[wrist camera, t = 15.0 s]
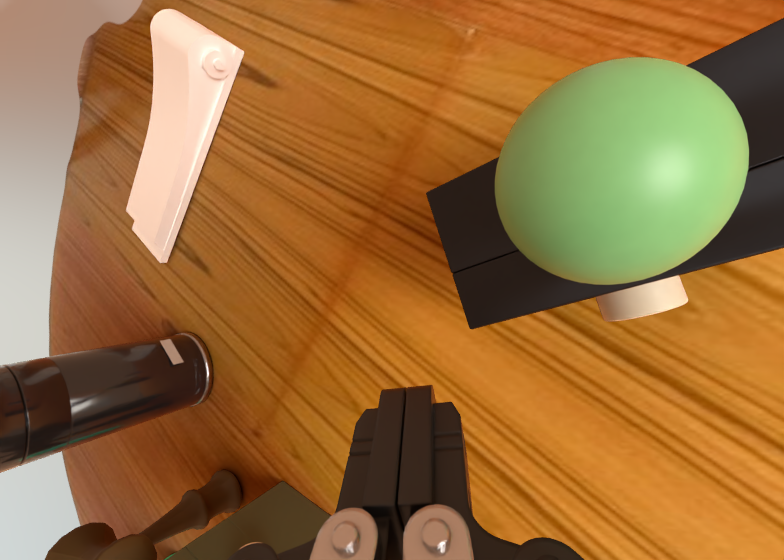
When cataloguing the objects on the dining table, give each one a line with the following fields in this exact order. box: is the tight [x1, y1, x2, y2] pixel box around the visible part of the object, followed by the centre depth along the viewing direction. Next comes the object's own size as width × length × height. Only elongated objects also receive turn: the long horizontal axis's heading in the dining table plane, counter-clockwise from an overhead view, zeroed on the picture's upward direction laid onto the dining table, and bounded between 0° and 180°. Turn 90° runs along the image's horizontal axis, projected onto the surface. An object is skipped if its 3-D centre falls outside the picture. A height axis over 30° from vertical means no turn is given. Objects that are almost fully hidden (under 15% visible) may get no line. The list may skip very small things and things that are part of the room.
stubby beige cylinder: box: [596, 275, 688, 321], centre depth 16 cm, size 2×3×3 cm
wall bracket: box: [126, 9, 244, 263], centre depth 45 cm, size 10×7×28 cm
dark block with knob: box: [426, 18, 784, 329], centre depth 16 cm, size 6×12×20 cm, turn 110°
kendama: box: [45, 470, 242, 560], centre depth 38 cm, size 6×10×20 cm, turn 105°
